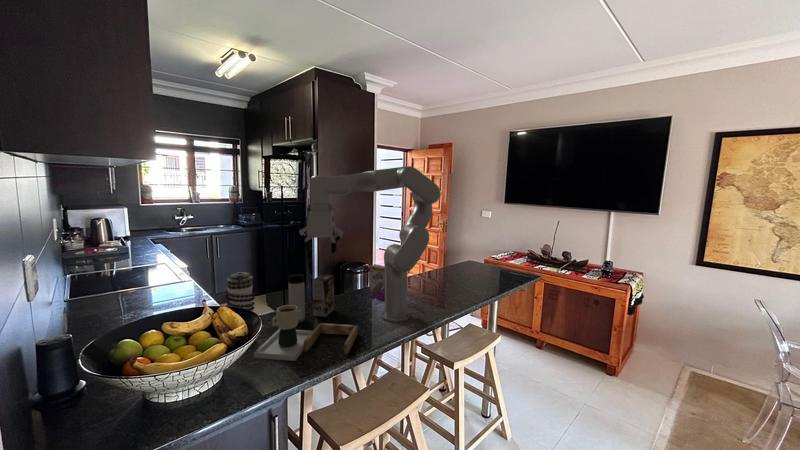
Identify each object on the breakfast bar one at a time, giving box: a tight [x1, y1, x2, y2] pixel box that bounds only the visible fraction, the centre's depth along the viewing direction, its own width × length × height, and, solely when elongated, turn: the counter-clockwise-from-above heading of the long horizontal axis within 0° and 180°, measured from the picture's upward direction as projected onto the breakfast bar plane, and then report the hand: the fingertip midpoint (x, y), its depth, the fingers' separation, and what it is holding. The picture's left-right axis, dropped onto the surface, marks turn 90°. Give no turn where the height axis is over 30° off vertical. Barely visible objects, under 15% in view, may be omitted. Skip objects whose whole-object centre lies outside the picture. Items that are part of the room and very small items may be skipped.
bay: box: [303, 322, 359, 356], centre depth 117 cm, size 15×15×4 cm
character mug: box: [271, 304, 302, 346], centre depth 114 cm, size 11×7×13 cm, turn 136°
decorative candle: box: [225, 271, 256, 313], centre depth 115 cm, size 9×9×25 cm
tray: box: [253, 328, 313, 362], centre depth 114 cm, size 14×18×2 cm
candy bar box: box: [368, 263, 385, 302], centre depth 163 cm, size 11×5×16 cm, turn 58°
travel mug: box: [288, 273, 306, 324], centre depth 134 cm, size 6×7×20 cm
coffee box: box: [312, 274, 335, 318], centre depth 144 cm, size 9×6×16 cm
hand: (321, 252), depth 127 cm, fingers open, 9 cm apart
